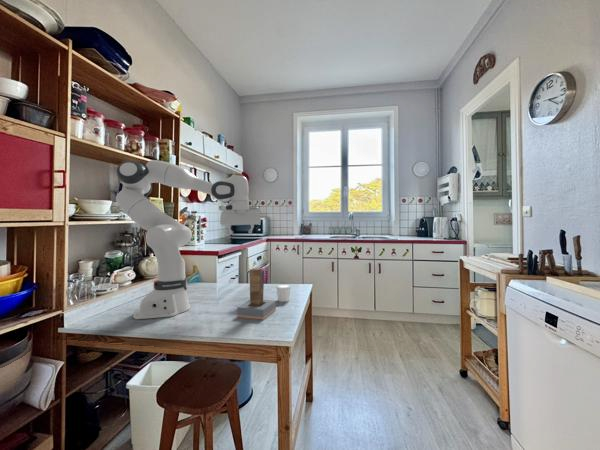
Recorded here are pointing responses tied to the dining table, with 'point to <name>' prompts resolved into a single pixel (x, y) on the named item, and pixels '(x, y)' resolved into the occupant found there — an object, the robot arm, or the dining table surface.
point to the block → (256, 287)
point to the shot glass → (283, 292)
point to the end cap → (256, 310)
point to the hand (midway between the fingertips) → (241, 234)
